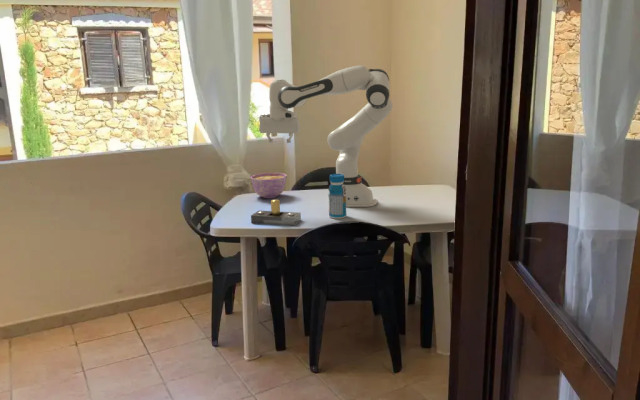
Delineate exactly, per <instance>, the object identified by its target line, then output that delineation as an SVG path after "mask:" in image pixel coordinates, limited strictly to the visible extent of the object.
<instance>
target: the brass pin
mask: <svg viewBox="0 0 640 400" xmlns="http://www.w3.org/2000/svg"><path fill="white" fill-rule="evenodd" d="M280 203H281V202H280V199H271V200H270V209H271V210H270V211H271V214H272V216H280V212H281V204H280Z"/></svg>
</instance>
